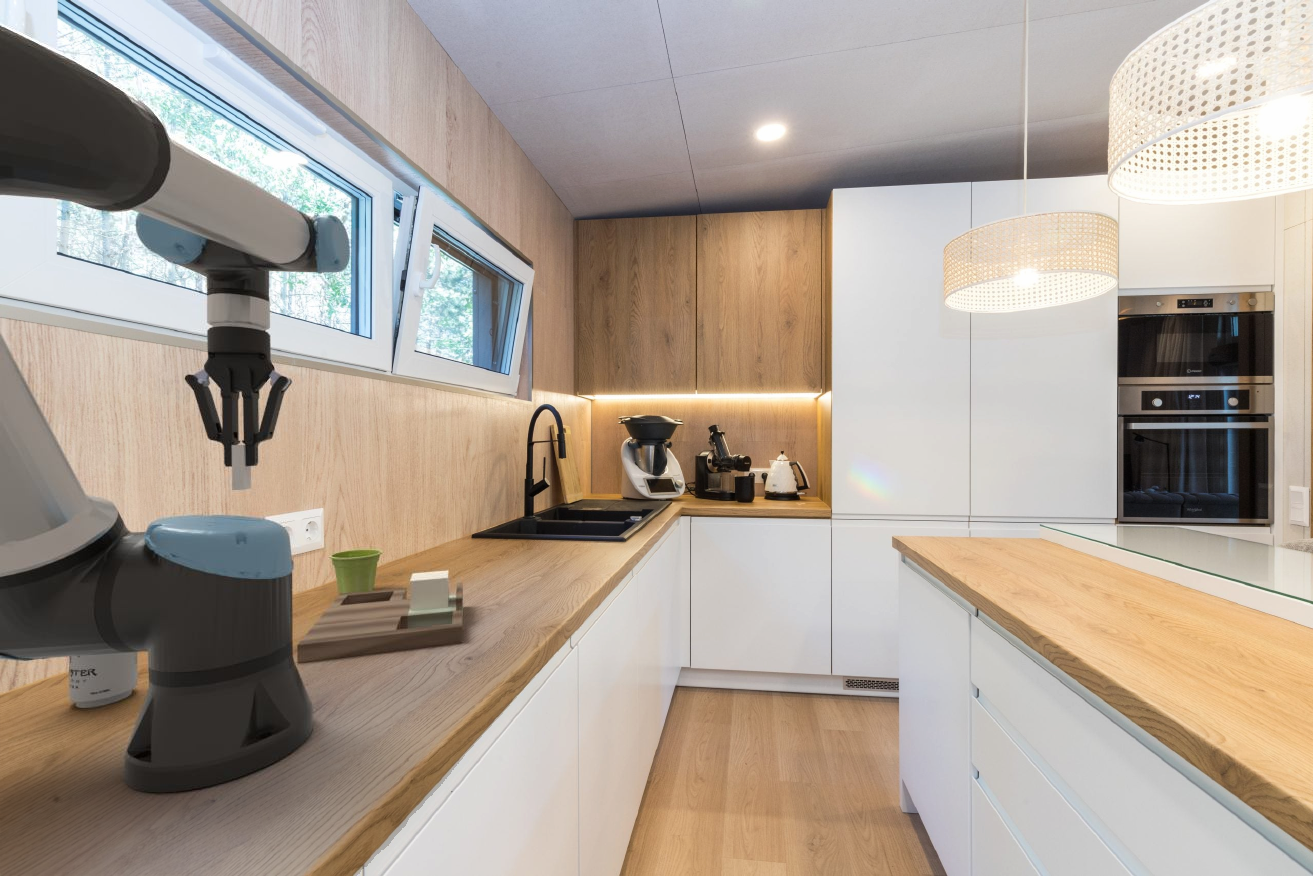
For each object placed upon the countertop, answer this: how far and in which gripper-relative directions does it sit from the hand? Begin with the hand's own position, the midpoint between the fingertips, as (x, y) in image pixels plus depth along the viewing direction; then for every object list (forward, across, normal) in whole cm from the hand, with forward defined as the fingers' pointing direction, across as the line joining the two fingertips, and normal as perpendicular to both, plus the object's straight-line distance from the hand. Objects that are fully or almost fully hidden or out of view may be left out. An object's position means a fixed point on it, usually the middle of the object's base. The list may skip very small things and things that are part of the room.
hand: (241, 488), depth 84 cm
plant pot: (+25, -10, -30) cm, 40 cm away
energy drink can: (+25, +11, +11) cm, 29 cm away
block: (+22, -25, -8) cm, 34 cm away
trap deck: (+24, -19, -8) cm, 32 cm away
